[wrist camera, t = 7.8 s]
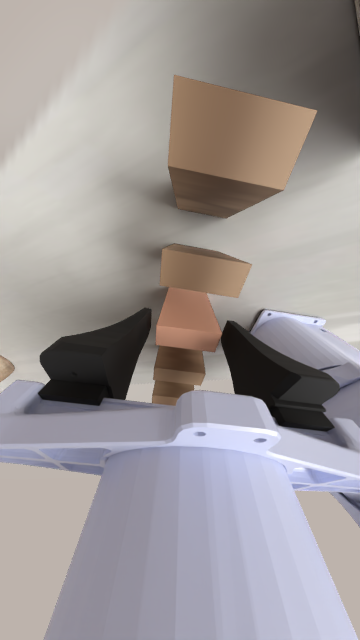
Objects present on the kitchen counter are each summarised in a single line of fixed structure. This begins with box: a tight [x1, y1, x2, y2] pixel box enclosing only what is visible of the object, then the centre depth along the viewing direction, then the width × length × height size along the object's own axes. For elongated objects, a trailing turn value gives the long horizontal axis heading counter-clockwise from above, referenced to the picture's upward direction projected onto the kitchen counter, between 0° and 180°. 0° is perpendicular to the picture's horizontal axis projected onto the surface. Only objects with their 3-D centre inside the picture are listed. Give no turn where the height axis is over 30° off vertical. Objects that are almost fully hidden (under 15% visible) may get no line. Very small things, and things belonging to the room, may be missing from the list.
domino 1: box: [168, 75, 317, 218], centre depth 9 cm, size 5×2×9 cm, turn 81°
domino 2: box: [160, 244, 252, 298], centre depth 11 cm, size 5×2×9 cm, turn 81°
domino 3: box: [156, 287, 222, 352], centre depth 14 cm, size 5×2×9 cm, turn 82°
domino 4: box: [153, 345, 206, 385], centre depth 17 cm, size 5×2×9 cm, turn 81°
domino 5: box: [152, 380, 194, 406], centre depth 19 cm, size 5×2×9 cm, turn 81°
